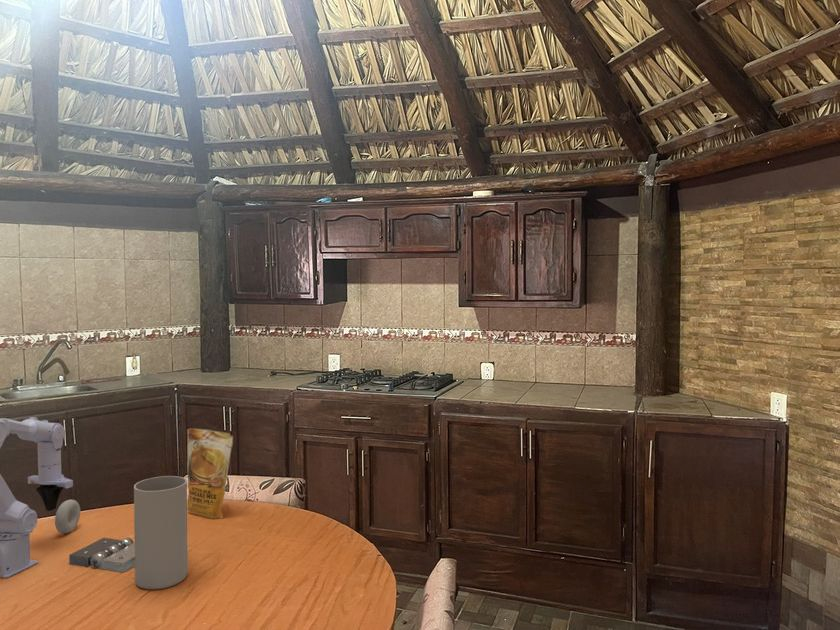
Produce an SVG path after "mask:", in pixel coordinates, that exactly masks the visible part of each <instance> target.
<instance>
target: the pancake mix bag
mask: <svg viewBox="0 0 840 630" xmlns="http://www.w3.org/2000/svg"><path fill="white" fill-rule="evenodd" d="M186 437H187V441H186V444H187V447H186V448H187V449H186V450H187V454H186V455H187V456H186V458H187V465H186V468H187V491H188V494H187V511H188V513H189V514H190V515H193V516H197V517H201V518H205V519H209V520H218V519H223V517H224V516H223V510H222V509H223V504H224V499H225V494H226V485H227V479H228V473H229V468H230V461H231V456H232V455H231V454H232V450H233V446H234V436H233V434H231V433H230V432H226V431H220V430H219V431H217V430H212V429H204V428H195V427H190V428H188V429H186Z"/></svg>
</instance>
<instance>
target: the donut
mask: <svg viewBox="0 0 840 630" xmlns="http://www.w3.org/2000/svg"><path fill="white" fill-rule="evenodd" d="M80 517H81V506H80V504H79V503H78V501H77V500H75V499H68V500H65V501H63V502H62V503H61V504H60V505H59V507H58V508H57V509H56V513H55V516H54V526H55V528H56V531H58V533H60V534H64V535H65V534H69V533H71V532H72V531H73V530H74V529H76V527H77V525H78V523H79V520H80Z"/></svg>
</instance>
